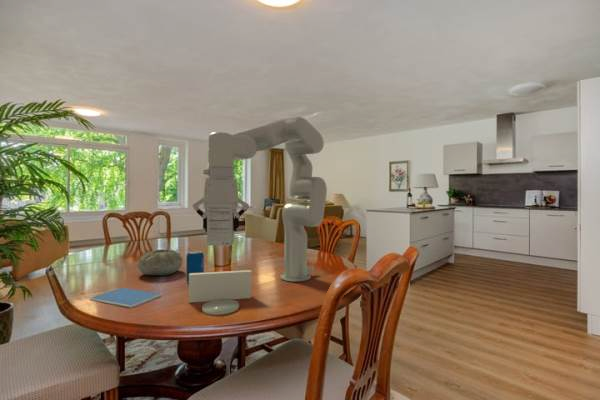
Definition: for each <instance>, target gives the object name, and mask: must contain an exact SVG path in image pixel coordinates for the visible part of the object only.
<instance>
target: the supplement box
mask: <svg viewBox="0 0 600 400" xmlns="http://www.w3.org/2000/svg"><path fill="white" fill-rule="evenodd" d="M234 218H235V215H234V213H233V211H232V204H227V203H209V204H207V232H206V245H207V246H213V247H215V246H216V247H218V246H220V247H221V246H224V247H225V246H232V245H233V244H234V242H235V231H234Z"/></svg>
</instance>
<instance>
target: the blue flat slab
mask: <svg viewBox="0 0 600 400" xmlns="http://www.w3.org/2000/svg"><path fill="white" fill-rule="evenodd" d="M160 297H162V293H158V292H151V291H147V290H146V291H145V290H139V289H132V288H127V287H120V288H116V289H114V290H110V291H107V292H104V293H101V294H98V295H94V296H92V297H90V298H89V301H91V300H93V301H92V302H97V301H98V302H99V303H103V304H109V305H114V306H120V307H124V308H129V309H132V308H133V309H134V308H135V307H138V306H141V305H143V304H146V303H148V302H150V301H153V300H156V299H158V298H160ZM98 302H97V303H98Z"/></svg>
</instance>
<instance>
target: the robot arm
mask: <svg viewBox="0 0 600 400" xmlns="http://www.w3.org/2000/svg"><path fill="white" fill-rule="evenodd" d="M281 144H284V147H285V151H286V153H288V156H289V159H291V163H292V172H291V178H290V184H289V196H290V197H291V198H293V199H294V200H301V201H298V202H297V201H294V202H293V201H292V202H288V203H286V204H285V205H284V206H283V207H282V212H281V217H282V222H283V230H284V242H283V243H284V246H283V247H284V251H283V252H284V253H283V254H284V256H283V257H284V261H283V263H284V265H283V266H284V267H283V268H284V269H283V272H282V273H281V274H279V275H280V280H283V281H285V282H290V283H291V282H292V283H293V282H294V283H296V282H297V283H299V282H307V281H309V280H310V279H311V277H312V276H311V274H310V273H309V272H310V271H314V270H315V266H314V265H310V266H309V265H308V234H307V231H306V229H305V227H312V228H313V227H319V226H320V225H321V224H322V222H323V220H324V215H325V214H324V213H325V207H326V201H327V191H328V188H327V183H326V181H325V180H324V179H323V178H321V177H320V176H313V164H312V162H311V160H310V158H309V156H307V155H314V154H319V153H320V152H321V151H322V150H323V148H324V145H325V143H324V139H323V136H322V135H321V133H320V131H318V130H317V129H316V127H314V126H313V125H312V124H311V123H310V122H309V121H308V120H307V119H306V118H304V117H301V116H297V117H291V118H290V117H289V118H284V119H283V118H282V119H279V120H275V121H273V122H270V123H266V124H264V125H261V126H257V127H253V128H251V129H248V130H245V131H241V132H238V133H234V134H231V133H229V132H222V131H220V132H218V131H216V132H211V133H210V134H209V136H208V151H207V153H208V160H207V161H208V168H207V169H203V170H202V171H203V175H207V176H208V177H205V181H204V185H203V188H204V189H203V197H202V198H201V199H199V200H198V201H196V202H195V203H193V204H192V208H193V209H194V210H195V212H196V213H197V214H198V215H199V216H200V217H201V218H202V229H203V230H204V231H205V233H207V204H209V203H227V204H232V211H233V213H234V232H237V229H239V228H240V227H239V225H240V222H239V218H241V216H243V214H244V213H245V212H246V210H247V209H248V208H249V203H246V202H245V201H244V200H243V199H241V198H240V197H239V188H238V180H237V178H235V175H234V174H235V172H234V171H235V168H234V166H235V165H234V164H235V161H239V160H241V161H243V160H250V159H252V158H254V157H255V156H256V154H257V152H262V151H266V150H270V149H273V148H274V147H276V146H279V145H281ZM303 200H305V201H309V202H302V201H303ZM239 204H240V205H241V206H242V208H241V209H240V210H238V208H239ZM201 205H203V209H204V210H205V211H203V210H201V208H200V206H201ZM237 210H238V211H237Z"/></svg>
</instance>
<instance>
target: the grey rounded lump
mask: <svg viewBox="0 0 600 400" xmlns="http://www.w3.org/2000/svg"><path fill="white" fill-rule="evenodd" d="M136 265H137V266H136V267H137V269H138V270H139V271H140V272H141V273H142V274H144V275H147V276H167V275H169V276H170V275H171V274H174V273H176V272H177V271H179V270H180V268H182V265H183V257H182V256H181V253H180V252H178V251H177V250H176V251H175V250H173V249H170V248H169V249H155V250H151V251H148V252H146V253H145V254H143V255H142V256H141V257H140V258H139V259H138V262H137V264H136Z"/></svg>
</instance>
